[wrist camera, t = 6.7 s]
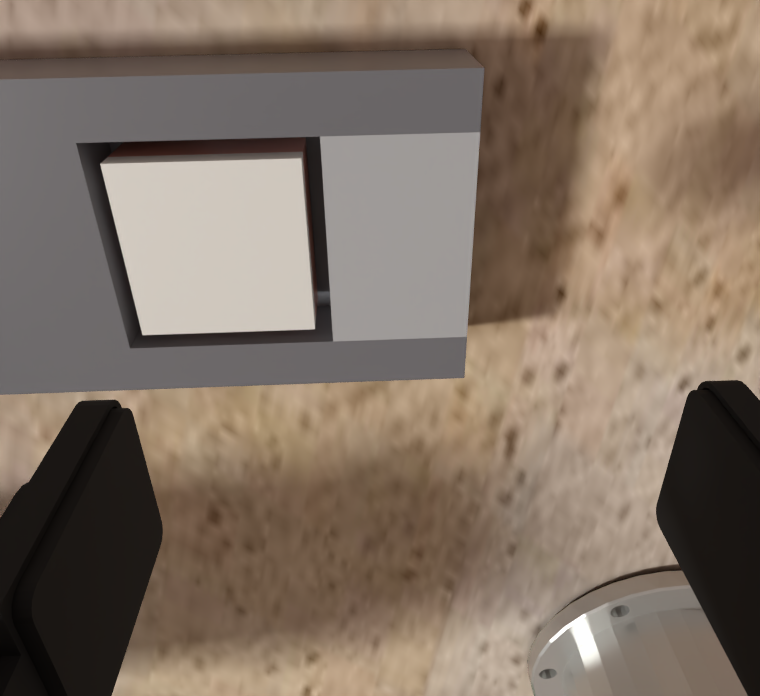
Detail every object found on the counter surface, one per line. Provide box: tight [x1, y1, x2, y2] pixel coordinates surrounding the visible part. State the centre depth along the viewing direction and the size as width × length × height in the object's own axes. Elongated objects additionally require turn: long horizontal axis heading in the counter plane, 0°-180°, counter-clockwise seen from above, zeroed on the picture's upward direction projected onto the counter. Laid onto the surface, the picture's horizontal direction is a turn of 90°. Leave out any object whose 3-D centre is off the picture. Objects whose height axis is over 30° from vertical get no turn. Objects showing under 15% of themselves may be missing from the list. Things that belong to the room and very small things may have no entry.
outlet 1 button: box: [100, 137, 318, 335], centre depth 19 cm, size 5×5×2 cm
